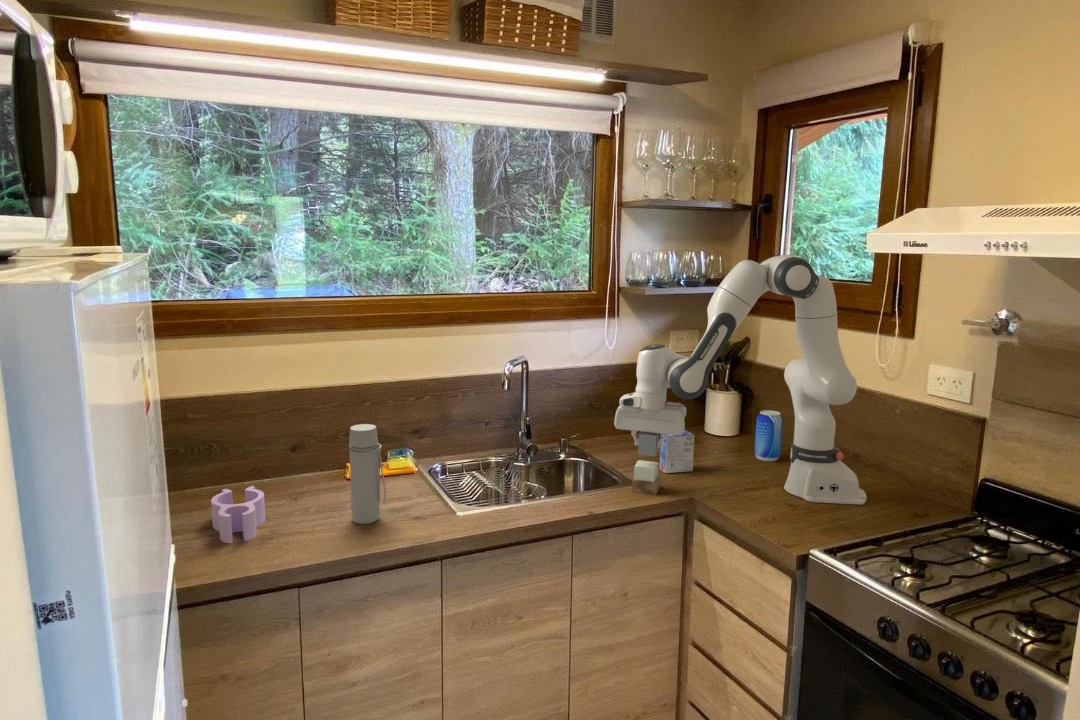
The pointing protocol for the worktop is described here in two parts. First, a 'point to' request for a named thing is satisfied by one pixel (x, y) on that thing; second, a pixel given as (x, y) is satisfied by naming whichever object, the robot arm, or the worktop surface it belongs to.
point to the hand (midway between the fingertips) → (648, 446)
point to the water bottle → (365, 473)
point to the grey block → (648, 443)
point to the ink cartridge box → (677, 453)
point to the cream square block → (646, 470)
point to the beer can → (768, 435)
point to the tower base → (646, 486)
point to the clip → (238, 514)
